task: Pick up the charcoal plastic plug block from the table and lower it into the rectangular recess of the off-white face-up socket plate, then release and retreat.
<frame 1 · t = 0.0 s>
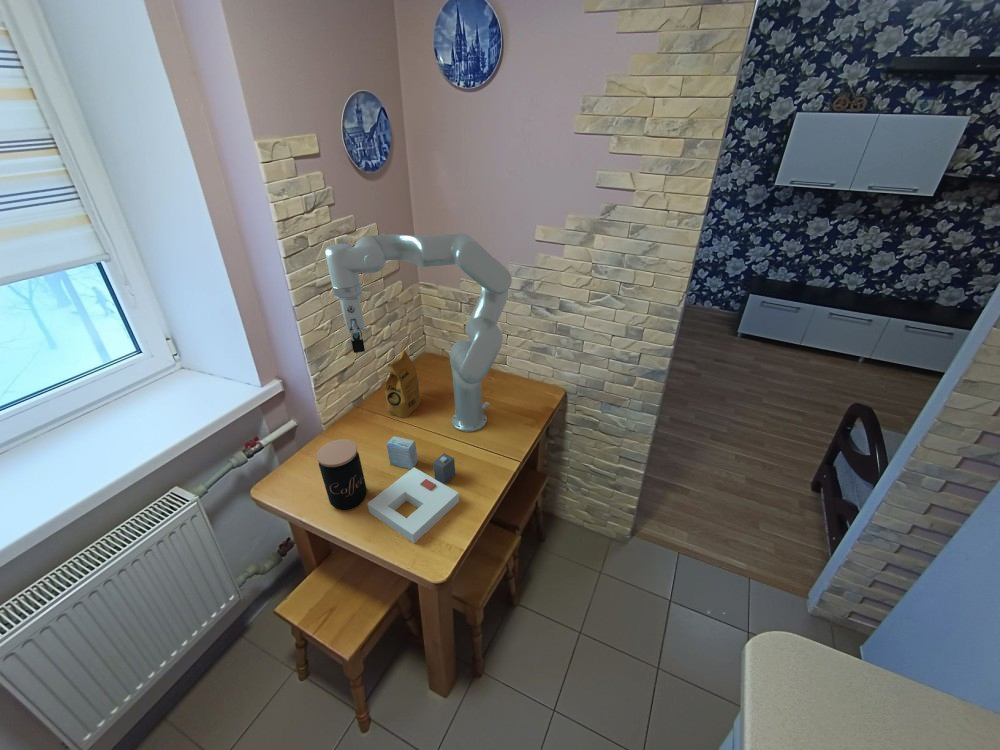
hand: (358, 344, 136), 37 cm above the table, tool pointing down, fingers open, 9 cm apart
socket plate: (414, 506, 131), on the table
coffee package: (404, 408, 172), on the table
plug: (445, 477, 141), on the table
medicine box: (404, 463, 146), on the table
coffee jar: (349, 498, 134), on the table
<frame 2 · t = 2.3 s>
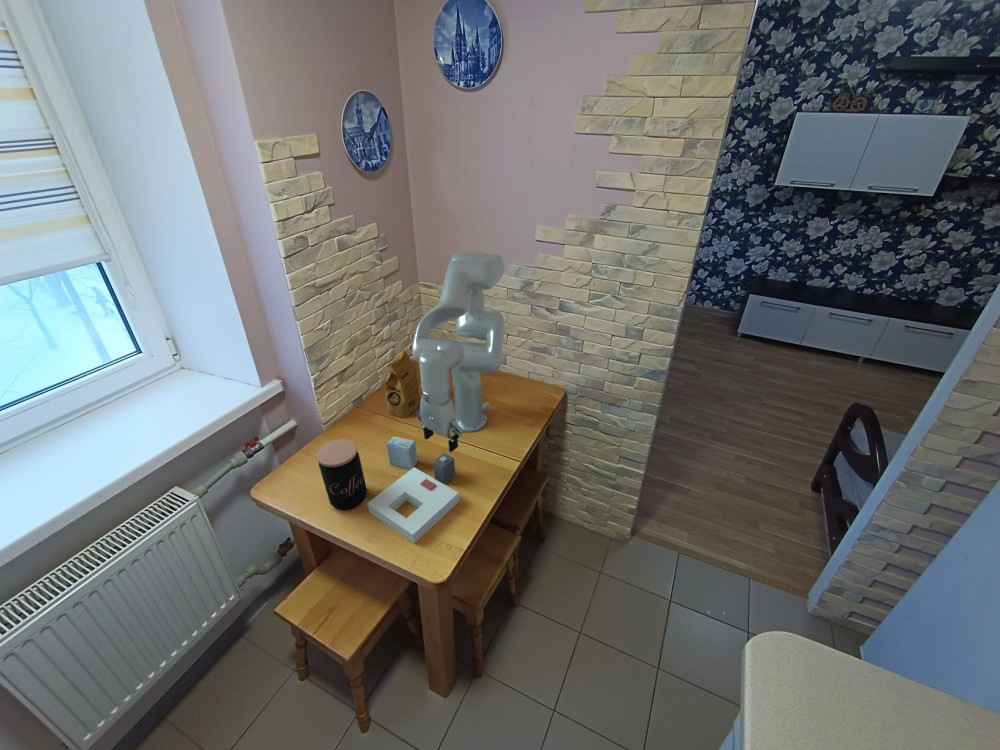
hand: (441, 443, 133), 14 cm above the table, tool pointing down, fingers open, 9 cm apart
nothing on the table moved.
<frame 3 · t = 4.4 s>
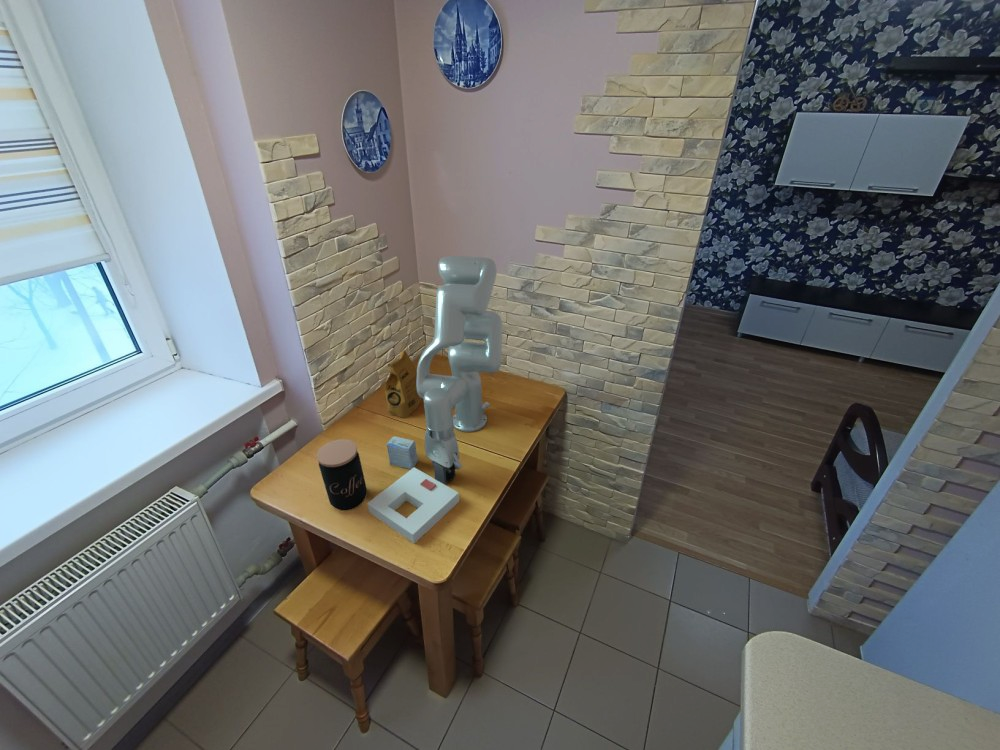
hand: (445, 475, 140), 1 cm above the table, tool pointing down, fingers closed on plug, 4 cm apart
plug: (445, 477, 141), on the table, touching gripper
everything else where it was.
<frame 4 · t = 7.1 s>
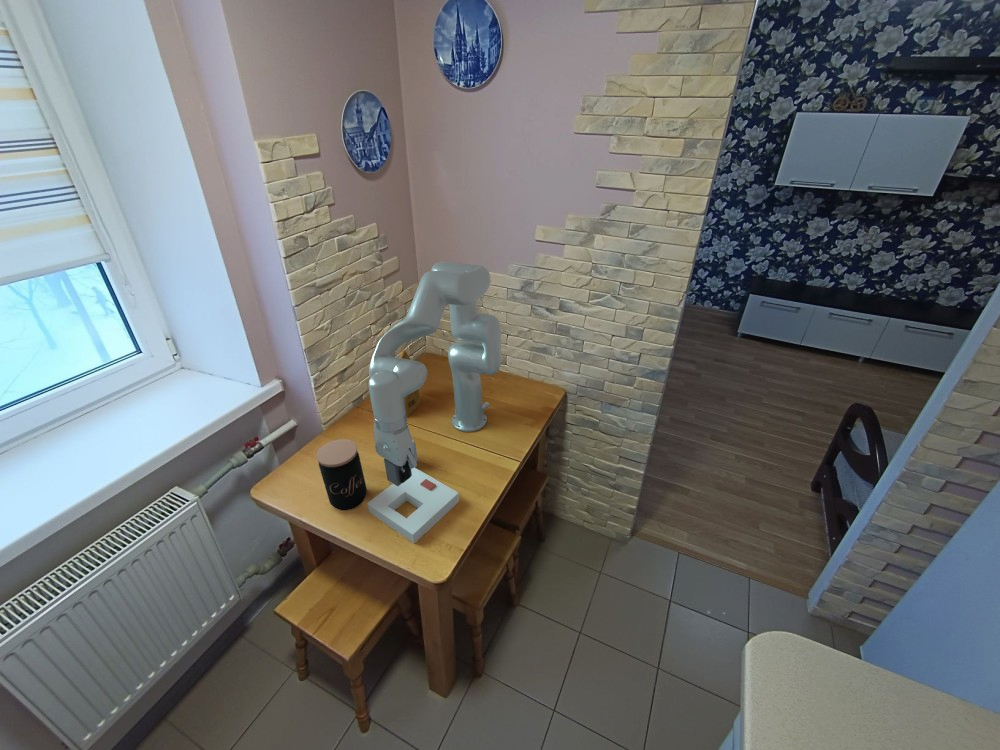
hand: (399, 475, 121), 15 cm above the table, tool pointing down, fingers closed on plug, 4 cm apart
plug: (399, 477, 121), point 14 cm above the table, touching gripper
everything else where it was.
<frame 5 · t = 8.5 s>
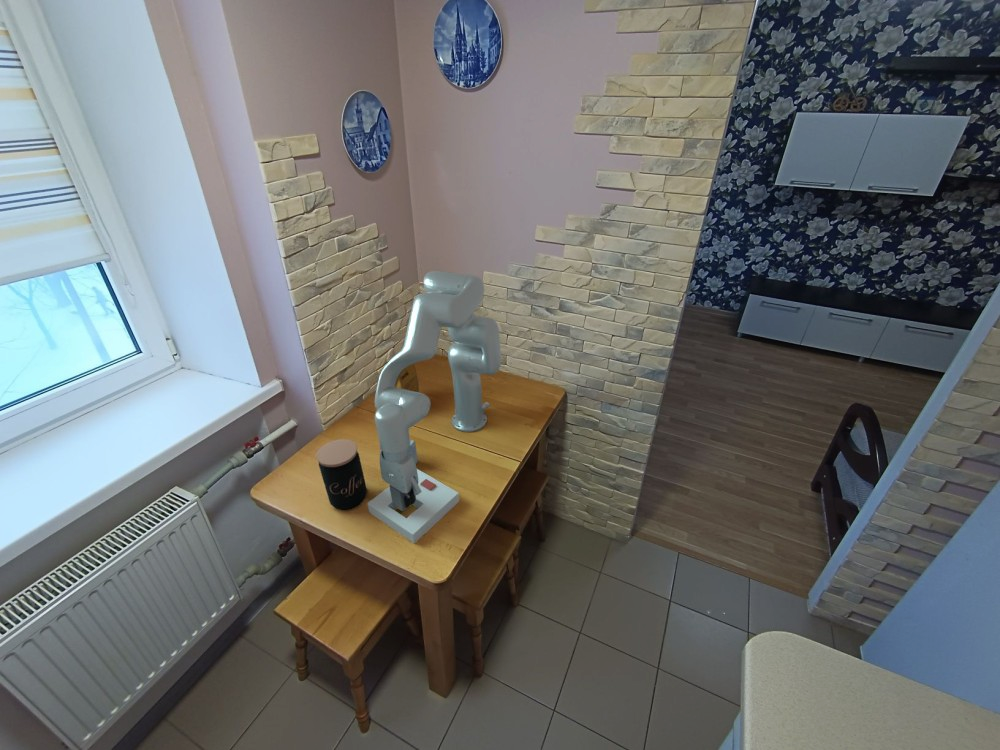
hand: (404, 500, 126), 5 cm above the table, tool pointing down, fingers closed on plug, 4 cm apart
plug: (404, 502, 126), point 5 cm above the table, touching gripper
everything else where it was.
when the fingers open (4 cm above the table, at t = 9.6 s): plug drops 3 cm, resting in socket plate.
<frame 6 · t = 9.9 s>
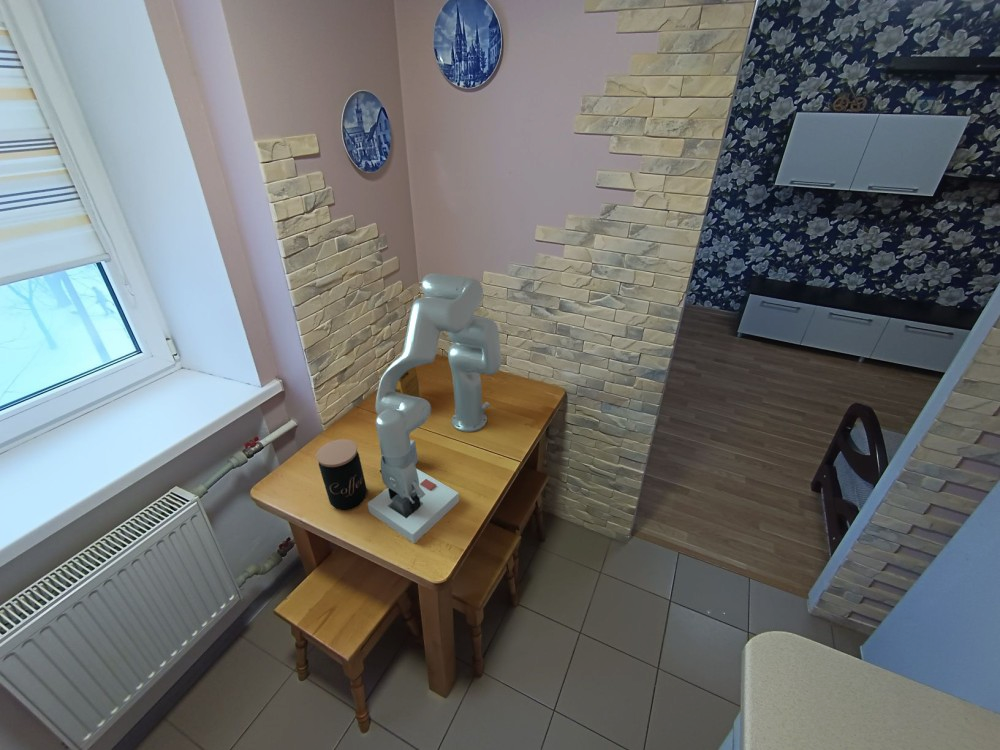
hand: (405, 502, 126), 4 cm above the table, tool pointing down, fingers open, 7 cm apart
plug: (407, 513, 129), resting in socket plate
everything else where it was.
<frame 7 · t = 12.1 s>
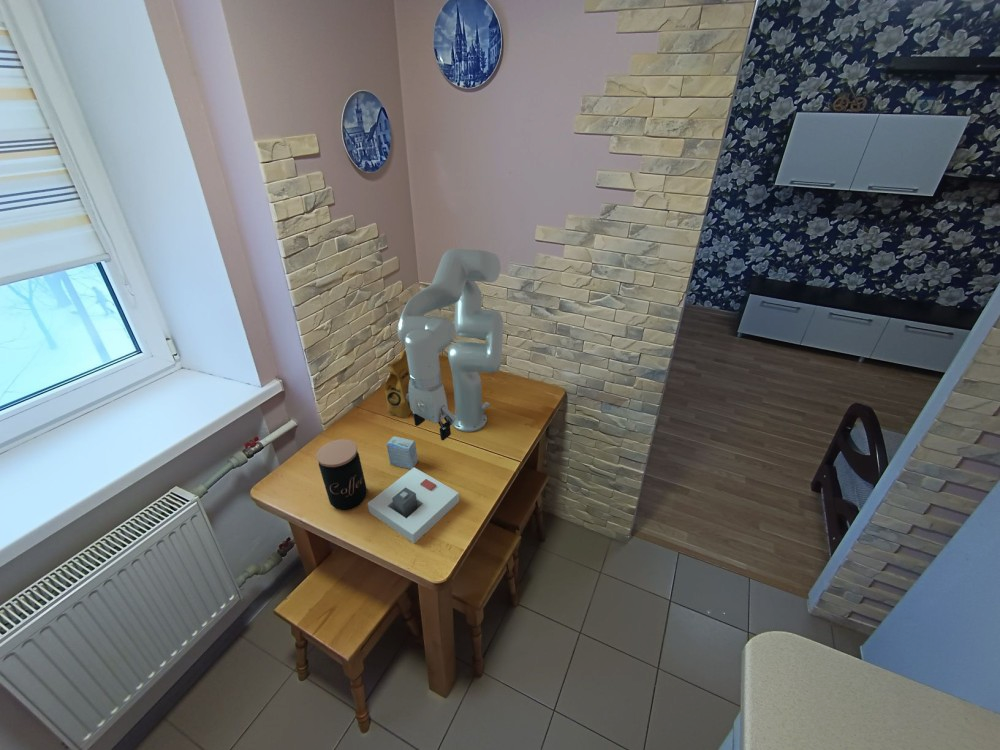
hand: (432, 430, 123), 24 cm above the table, tool pointing down, fingers open, 9 cm apart
nothing on the table moved.
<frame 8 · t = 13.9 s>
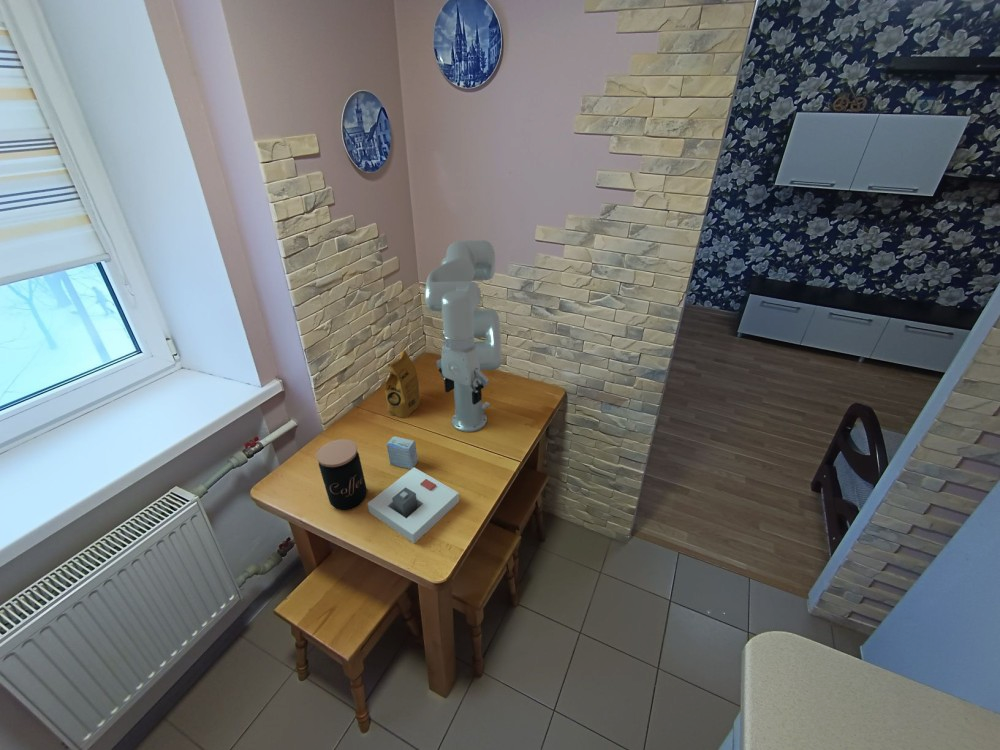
hand: (463, 396, 125), 30 cm above the table, tool pointing down, fingers open, 9 cm apart
nothing on the table moved.
at the end: plug 0.1 cm from the target spot on the socket plate, point 0.0 cm above the socket plate's base; plug tilted 0°; the gripper is holding nothing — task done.
